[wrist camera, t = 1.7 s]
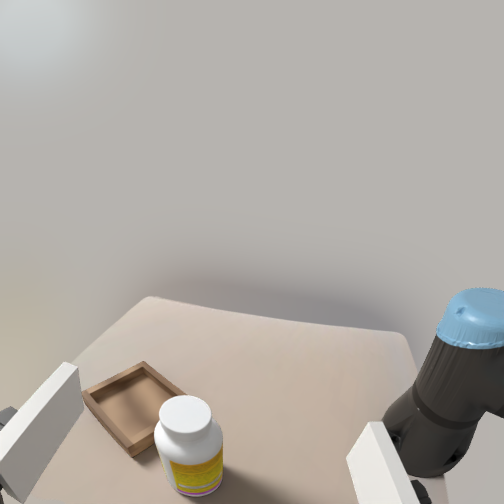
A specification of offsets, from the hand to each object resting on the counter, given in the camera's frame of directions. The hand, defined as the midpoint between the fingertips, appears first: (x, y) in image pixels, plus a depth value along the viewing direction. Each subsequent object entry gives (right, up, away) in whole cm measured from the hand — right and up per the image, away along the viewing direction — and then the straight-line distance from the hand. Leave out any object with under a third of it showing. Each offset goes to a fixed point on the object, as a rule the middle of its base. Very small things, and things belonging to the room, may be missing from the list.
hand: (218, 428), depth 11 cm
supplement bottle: (-5, -19, +16) cm, 25 cm away
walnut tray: (-14, -15, +25) cm, 32 cm away
